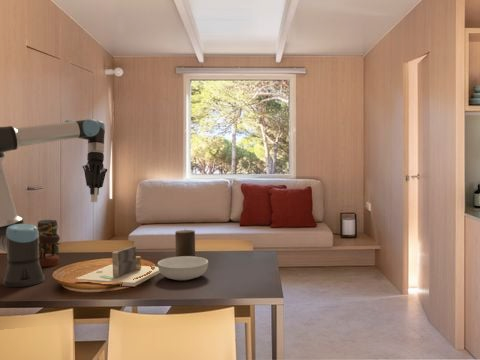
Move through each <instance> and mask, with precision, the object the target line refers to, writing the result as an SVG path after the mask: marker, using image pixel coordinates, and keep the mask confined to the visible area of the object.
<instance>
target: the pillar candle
mask: <svg viewBox="0 0 480 360" xmlns="http://www.w3.org/2000/svg"><path fill="white" fill-rule="evenodd" d="M181 256H194V257H196V232H195V230H194V229H183V230H181V229H180V230H175V257H181Z"/></svg>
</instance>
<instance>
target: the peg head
mask: <svg viewBox="0 0 480 360" xmlns="http://www.w3.org/2000/svg"><path fill="white" fill-rule="evenodd" d="M136 248H137V247H136V246H128V247H126V248H122V249H120V250H115V251H113V252H111V253H112V257H111V259H112V264H113V277H116V278H118V277H119V276H122V275H124V274H127V273H129V272H131V271H134V270H138V269H141V266H142V257H141V256H139V255H138V256H137V253H136V252H137V251H136Z"/></svg>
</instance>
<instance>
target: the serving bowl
mask: <svg viewBox="0 0 480 360" xmlns="http://www.w3.org/2000/svg"><path fill="white" fill-rule="evenodd" d="M157 267H158V269H159V271H160V273H159V274H161V275H162V276H164V277H165V278H167V279H171V280H173V281H174V280H175V281H188V280H193V279H195V278H199V277H200V276H202V275H203V274H205V272H206V271H207V269H208V267H209V260H208V259H207V258H204V257H200V256H195V257H194V256H181V257H176V256H172V257H166V258H163V259H161V260H159V261H158V262H157Z"/></svg>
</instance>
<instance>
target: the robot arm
mask: <svg viewBox="0 0 480 360" xmlns="http://www.w3.org/2000/svg"><path fill="white" fill-rule="evenodd" d="M105 133H106V127H105V123H104V122H103V121H102V120H96V119H92V118H87V119H82V120H68V119H67V120H65V121H64V122H63V121H62V122H57V123H47V124H40V125H31V126H22V127H14V126H13V125H9V126H0V250H1V251H4V252H5V253H7V267H6V271H5V275H4V278H3V286H5V287H7V288H21V287H29V286H34V285H39V284H40V283H42V282H45V273H44V272H43V270H42V267H41V266H40V263H39V245H38V243H39V231H38V226H36V225H34V224H31V223H25V222H24V219H23V217H21V216H19V215H18V212H17V208H16V205H15V202H14V200H13V199H14V198H13V195H12V192H11V189H10V185H9V180H8V178H7V175H6V171H5V168H4V163H3V161H4V159H5V154H4V153H7V152H9V151H16V150H18V149H19V147H20V148H21V147H26V146H33V145H40V144H45V143H46V144H47V143H52V142H53V143H54V142H60V141H66V140H73V139H74V140H75V139H82V140H86V141H87V157H86V158H87V162H86V164H84V165H82V169H83V171H84V178H85V183H86V184H85V185H86V187H88V188H89V193H90V203H97V202H98V195H99V193H100V190H99V189H101V188H103V187H104V181H105V177H106V174H107V172H108V169H107V168H105V167H104V160H105V154H104V153H105V136H106V135H105Z"/></svg>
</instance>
